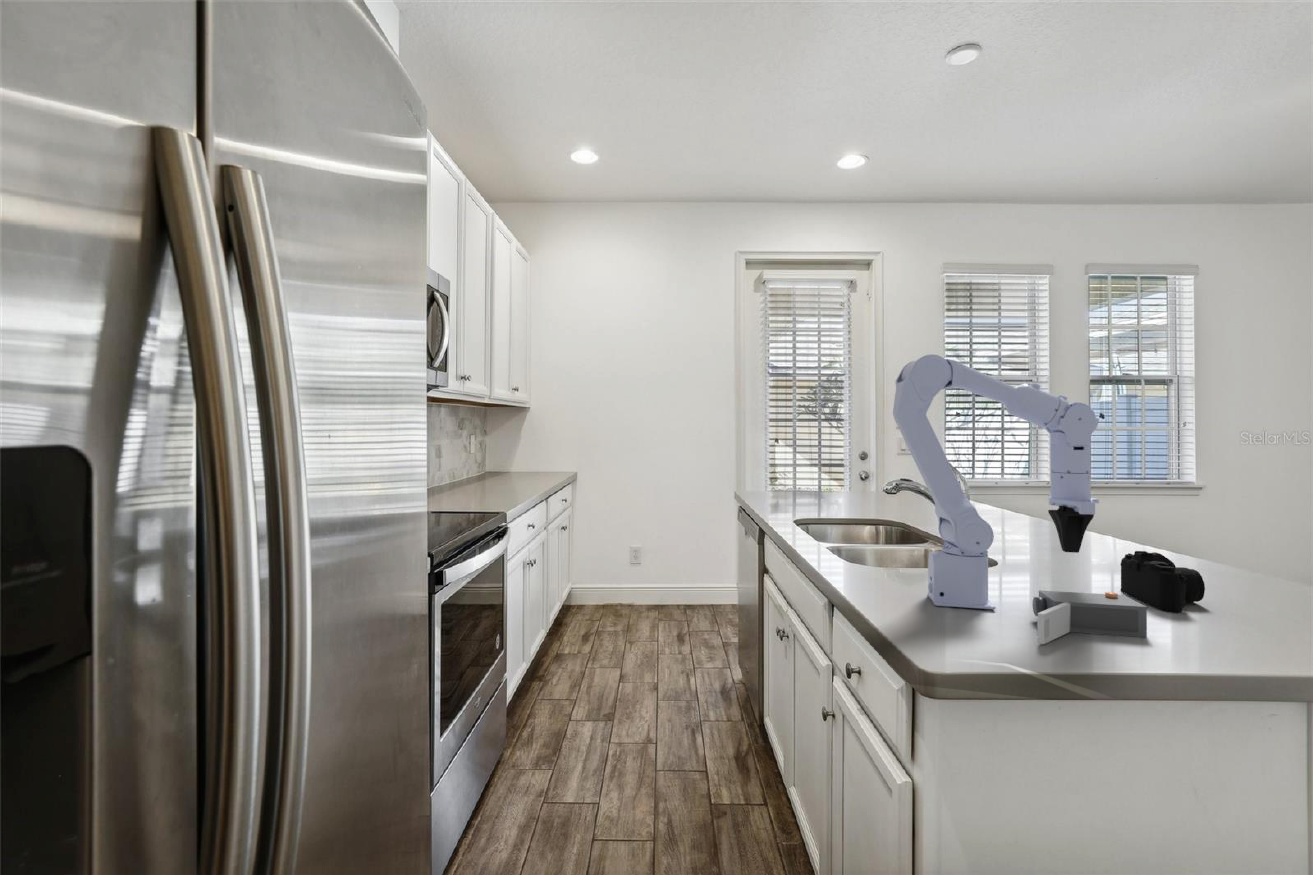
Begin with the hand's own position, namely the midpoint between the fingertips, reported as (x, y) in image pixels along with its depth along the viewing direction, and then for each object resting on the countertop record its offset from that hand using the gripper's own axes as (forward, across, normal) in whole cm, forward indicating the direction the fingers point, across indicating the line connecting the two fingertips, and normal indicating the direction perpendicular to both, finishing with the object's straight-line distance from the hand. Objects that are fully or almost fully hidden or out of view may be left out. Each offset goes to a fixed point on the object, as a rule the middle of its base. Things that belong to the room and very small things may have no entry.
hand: (1070, 551), depth 105 cm
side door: (+10, -15, +6) cm, 18 cm away
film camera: (+10, +10, -18) cm, 23 cm away
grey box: (+10, -10, +1) cm, 14 cm away
